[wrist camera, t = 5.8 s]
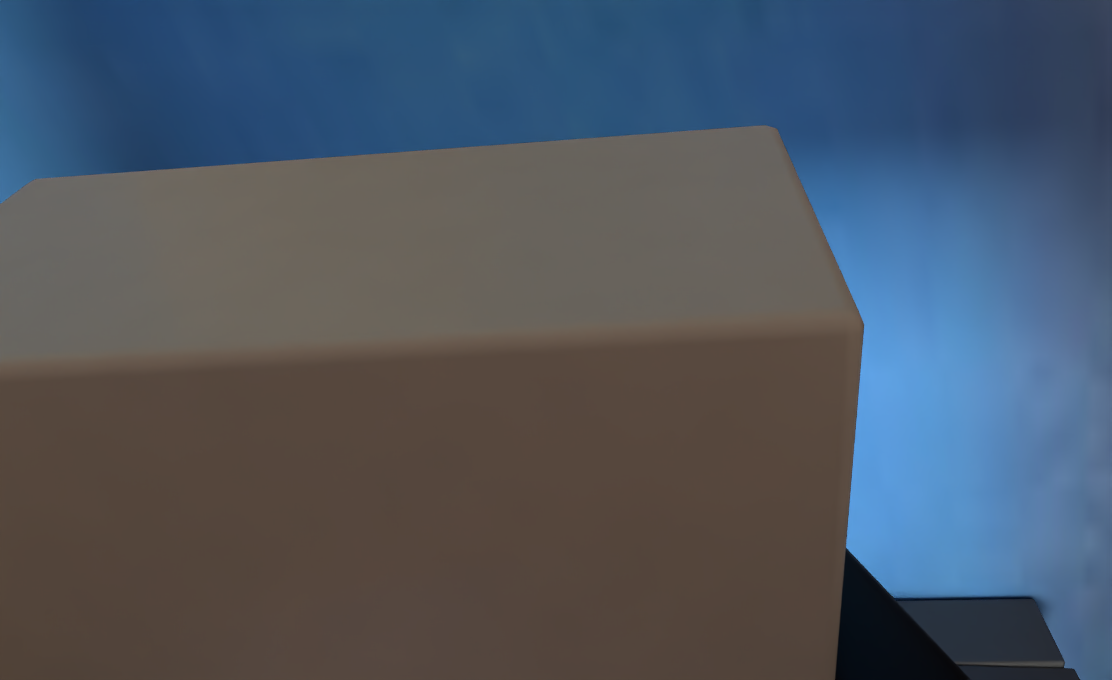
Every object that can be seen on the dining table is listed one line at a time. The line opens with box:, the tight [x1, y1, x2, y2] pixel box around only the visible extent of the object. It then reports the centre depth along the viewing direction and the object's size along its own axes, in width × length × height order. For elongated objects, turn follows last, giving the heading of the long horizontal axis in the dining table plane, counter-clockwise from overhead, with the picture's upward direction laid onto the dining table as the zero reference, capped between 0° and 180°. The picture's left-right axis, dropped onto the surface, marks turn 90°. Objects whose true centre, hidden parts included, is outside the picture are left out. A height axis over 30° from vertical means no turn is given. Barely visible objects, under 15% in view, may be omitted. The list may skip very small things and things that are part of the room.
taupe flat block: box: [0, 125, 864, 680], centre depth 7 cm, size 7×5×2 cm
